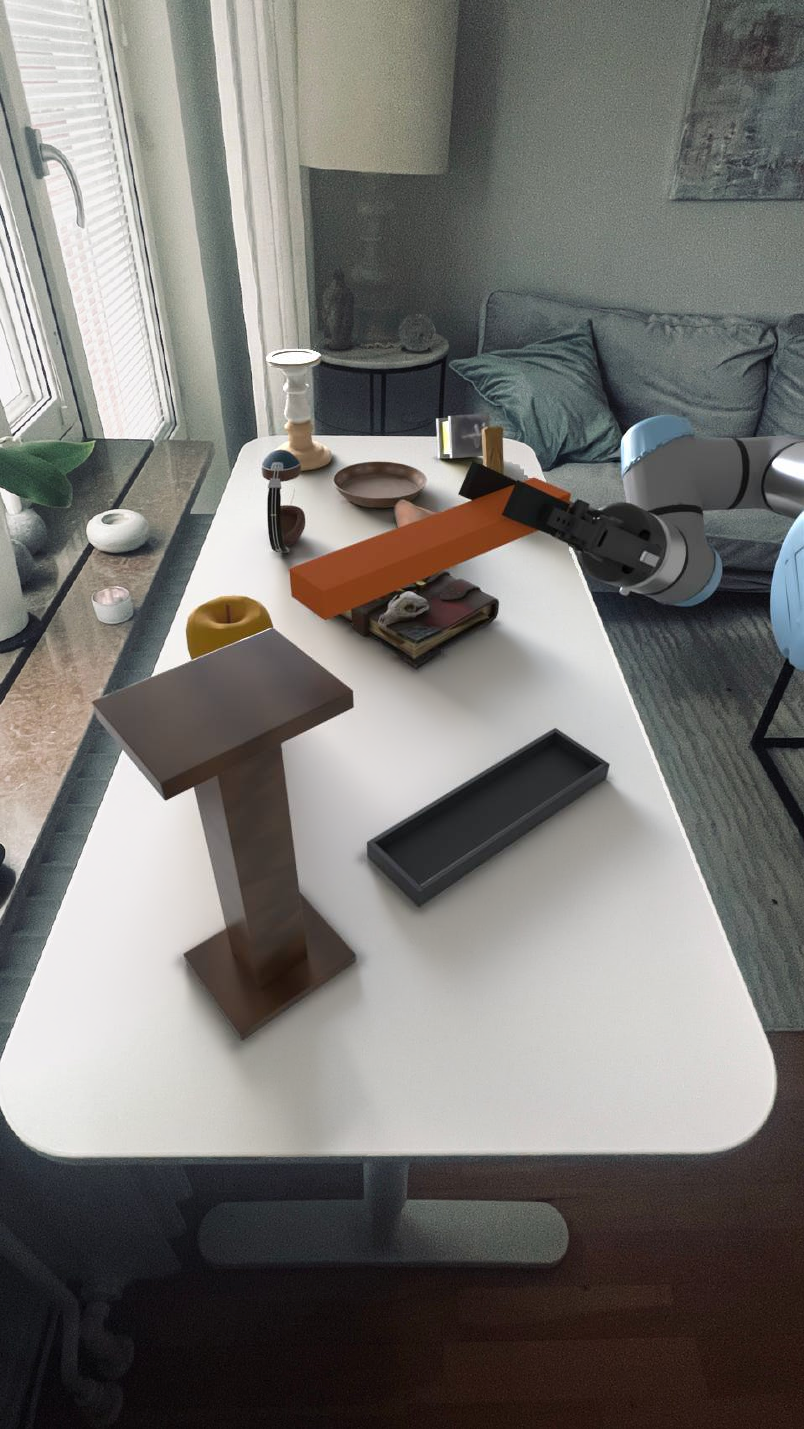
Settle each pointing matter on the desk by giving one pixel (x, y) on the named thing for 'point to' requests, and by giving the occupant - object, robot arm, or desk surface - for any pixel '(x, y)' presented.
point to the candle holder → (299, 407)
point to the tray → (485, 815)
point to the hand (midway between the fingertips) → (490, 489)
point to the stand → (241, 809)
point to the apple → (224, 623)
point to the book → (424, 616)
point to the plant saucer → (379, 483)
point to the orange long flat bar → (409, 553)
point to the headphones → (281, 519)
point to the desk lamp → (471, 439)
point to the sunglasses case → (409, 513)
